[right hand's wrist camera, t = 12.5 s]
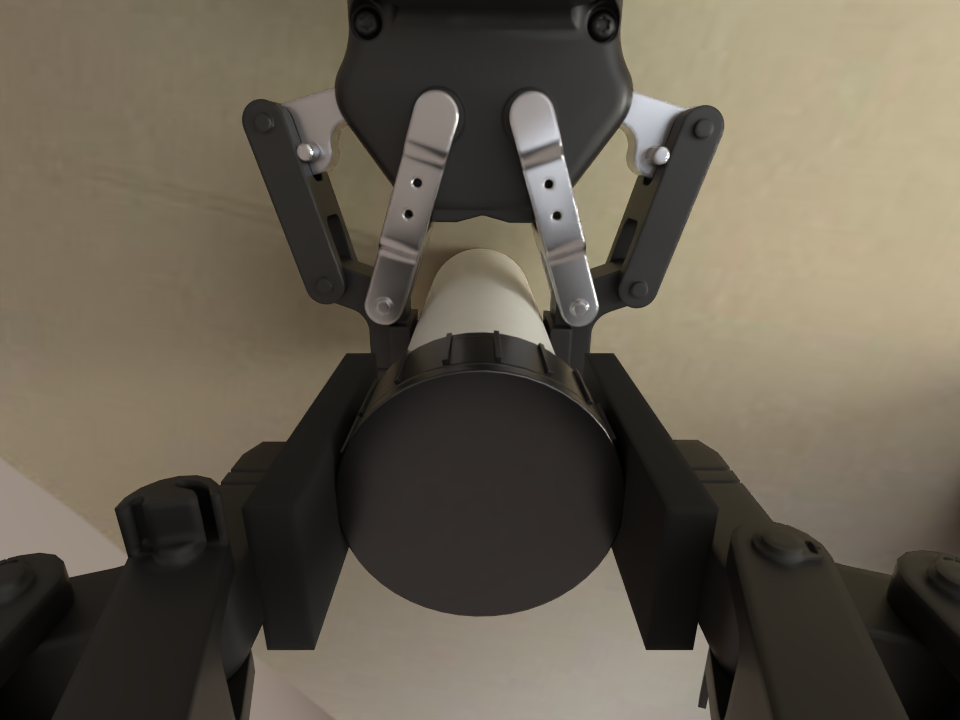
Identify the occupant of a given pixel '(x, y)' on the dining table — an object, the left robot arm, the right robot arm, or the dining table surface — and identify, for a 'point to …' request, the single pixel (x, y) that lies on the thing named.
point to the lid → (480, 477)
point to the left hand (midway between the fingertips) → (480, 414)
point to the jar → (480, 300)
